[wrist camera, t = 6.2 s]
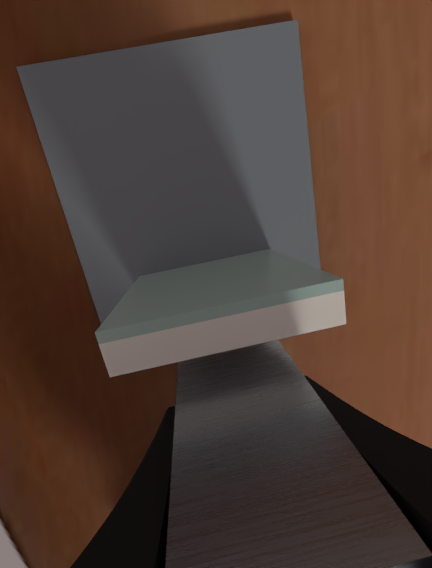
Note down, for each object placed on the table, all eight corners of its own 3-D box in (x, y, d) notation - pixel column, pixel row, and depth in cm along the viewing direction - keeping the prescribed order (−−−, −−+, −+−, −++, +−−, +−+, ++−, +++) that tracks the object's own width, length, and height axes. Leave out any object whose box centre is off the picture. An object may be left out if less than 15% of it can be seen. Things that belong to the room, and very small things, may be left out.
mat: (319, 281, 18) (322, 283, 17) (104, 328, 17) (102, 330, 17) (294, 24, 14) (297, 19, 14) (21, 71, 13) (16, 66, 13)
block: (275, 393, 14) (428, 704, 5) (198, 412, 13) (216, 767, 5) (264, 321, 13) (433, 555, 4) (179, 339, 12) (160, 629, 4)
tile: (273, 274, 17) (346, 324, 9) (146, 301, 16) (109, 377, 9) (270, 248, 16) (343, 278, 9) (139, 276, 16) (94, 332, 8)
